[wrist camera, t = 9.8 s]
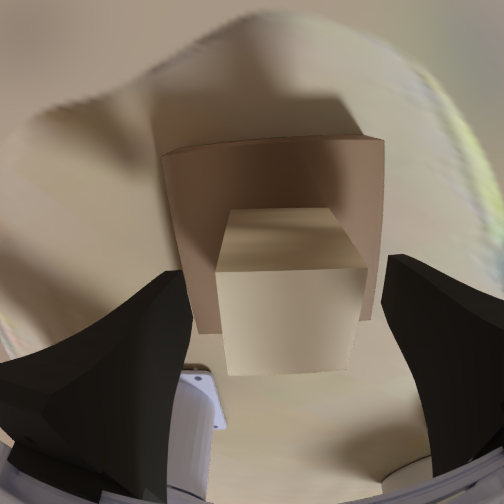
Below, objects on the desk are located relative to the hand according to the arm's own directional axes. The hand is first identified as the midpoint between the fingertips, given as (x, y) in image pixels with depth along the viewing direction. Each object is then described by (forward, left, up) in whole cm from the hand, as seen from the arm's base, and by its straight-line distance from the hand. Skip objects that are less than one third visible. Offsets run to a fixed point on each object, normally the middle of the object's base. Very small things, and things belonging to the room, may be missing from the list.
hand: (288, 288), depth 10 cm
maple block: (0, 0, -3) cm, 3 cm away
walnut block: (0, 0, -6) cm, 6 cm away
